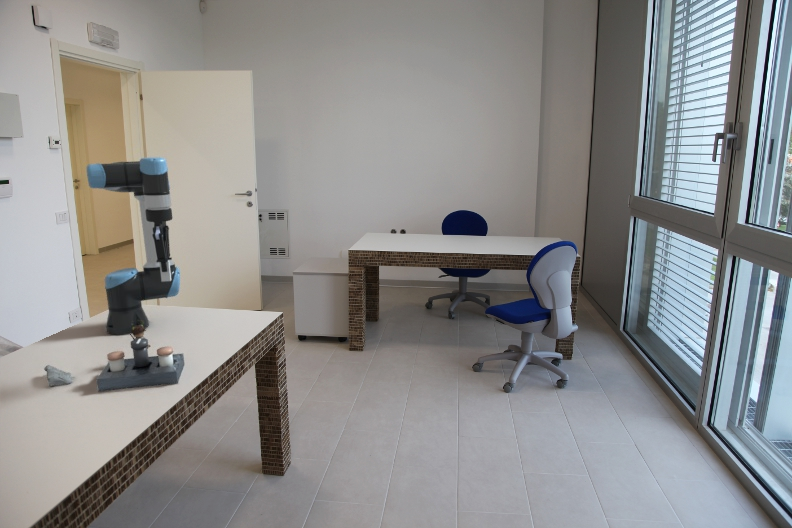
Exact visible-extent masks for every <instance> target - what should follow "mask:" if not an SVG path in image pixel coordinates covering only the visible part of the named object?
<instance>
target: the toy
mask: <svg viewBox="0 0 792 528" xmlns="http://www.w3.org/2000/svg"><path fill="white" fill-rule="evenodd" d="M132 322H133V321H132ZM140 322H141V321H140ZM143 322H144V321H143ZM131 324H132V323H131ZM144 326H145V325H144ZM144 326H143V325H137V326H136V325H135V326H134V327H133V329H132V331H131V332H132V333H130V334H129V335H130V337H131V338H132V340H135V339H141V338H145V339H146V337H145V332H146V331H147V328H148V327H147V326H146V327H147V328H144ZM129 331H130V330H129ZM149 348H151V344H148V346H147V350H148V349H149Z"/></svg>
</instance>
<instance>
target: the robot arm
mask: <svg viewBox="0 0 792 528" xmlns="http://www.w3.org/2000/svg"><path fill="white" fill-rule="evenodd" d="M167 164H168V163H167V160H166V159H165V157H160V156H159V157H158V156H157V157H156V156H155V157H151V156H150V157H142V158H140V159H139V161H117V162H111V163H99V162H98V163H93V164H92V163H91V164H88V165H86V177H87V182H88V183H87V184H88V186H89V187H90V188H91V189H103V190H106V191H109V192H116V193H133V197H134V199H136V200H137V201H138V202H139V203H138V204H139V212H140V218H141V219H140V220H141V225H142V234H143V235H142V236H143V243H144V250H145V258H146V262H145V263H144V265H143V266H142V268H143V270H142V271H139V270H138V268H136V267H126V268H121V269H118V270H114V271H112V272H109V273H108V274H107V275H105V276H104V289H105V290H106V301H107V307H108V314H107V318H106V324H105V330H106V333H108V334H109V335H117V336H118V335H119V336H120V335H128V334H129V335H130V334H132V332H131V331H132V329H133V327H134V326H135V325H136V326H137V325H143V326H144V325H145V326H144V328H146V329H148V328H149V326H150V322H149V318H148V316H147V314H146V312H145V311H144V308H143V305H142V304H143V303H142V302H143V301H151V300H157V299H168V298H173V297H177V295H179V292H180V289H181V288H180V285H181V275H180V273H181V272H180V268H179V267H178V266H176V264H175V262H174V261H172V256H171V253H170V252H171V249H170V248H171V247H170V227H169V225H167V222H169V221H172V220H173V211H172V208H171V206H172V199H171V192H170V190H171V185H170V181H169V173H168V171H169V167H168V165H167ZM132 321H133V322H132ZM140 321H141V322H140ZM143 321H144V322H143ZM131 323H132V324H131ZM146 326H147V327H146ZM129 330H130V331H129Z"/></svg>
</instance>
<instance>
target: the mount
mask: <svg viewBox="0 0 792 528" xmlns="http://www.w3.org/2000/svg"><path fill="white" fill-rule="evenodd" d="M172 356H173V364H174V366H166V367H160V365H159V357H158V355H154V356H153V355H152V356H148V358H149V364H148V365H146V366H143V367H136V366H135V362H134V357H131V358H124V363H125V371H115V372H111V371H110V364H109V361H108V362H107V364H106V366H105V367H104V368H103V369H102V371H101V372H100V374H99V375H98V377H97V378H96V384H97V391H98V393H101V392H109V391H119V390H127V389H129V390H130V389H138V388H146V387H148V388H149V387H154V386H155V387H156V386H166V385H176V384H178V383H179V381H180V378H181V376H182V372H183V370H184V367H185V356H184V353H176V354H175V353H174V354H173V353H172Z"/></svg>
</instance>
